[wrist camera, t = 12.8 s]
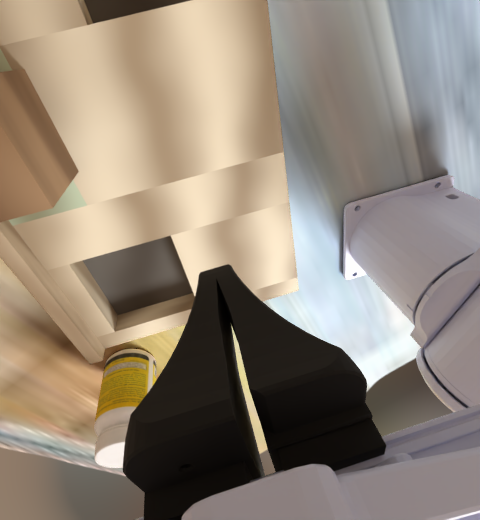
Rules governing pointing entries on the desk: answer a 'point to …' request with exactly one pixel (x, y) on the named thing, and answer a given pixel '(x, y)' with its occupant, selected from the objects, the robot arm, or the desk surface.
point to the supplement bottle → (120, 401)
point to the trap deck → (150, 160)
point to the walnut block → (29, 151)
